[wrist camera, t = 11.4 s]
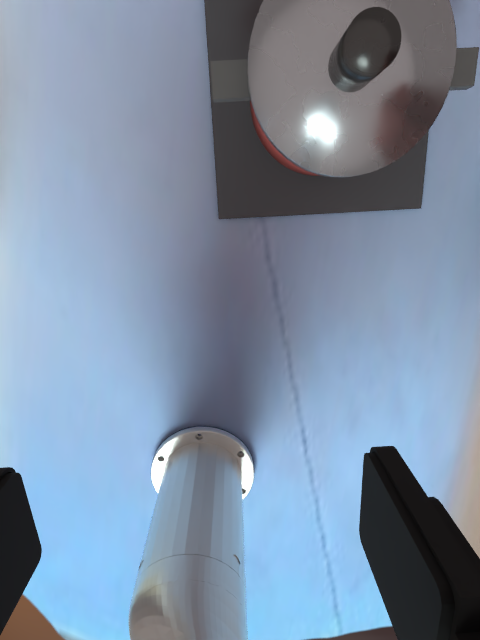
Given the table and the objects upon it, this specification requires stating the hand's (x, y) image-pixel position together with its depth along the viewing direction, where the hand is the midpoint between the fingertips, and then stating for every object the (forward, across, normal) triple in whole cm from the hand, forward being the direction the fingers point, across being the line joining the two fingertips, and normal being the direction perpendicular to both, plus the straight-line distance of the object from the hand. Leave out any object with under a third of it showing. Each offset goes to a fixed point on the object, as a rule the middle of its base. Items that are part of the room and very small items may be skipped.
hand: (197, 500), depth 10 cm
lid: (+22, -10, -16) cm, 29 cm away
